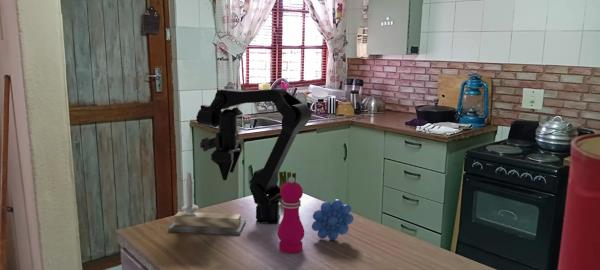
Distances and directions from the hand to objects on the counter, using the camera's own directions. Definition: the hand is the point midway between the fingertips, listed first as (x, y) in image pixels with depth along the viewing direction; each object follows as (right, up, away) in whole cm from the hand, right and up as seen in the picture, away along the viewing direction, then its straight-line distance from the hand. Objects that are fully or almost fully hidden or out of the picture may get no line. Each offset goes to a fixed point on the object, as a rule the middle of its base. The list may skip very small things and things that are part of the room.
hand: (228, 176), depth 149 cm
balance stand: (-4, -14, -11) cm, 19 cm away
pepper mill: (+21, -18, -25) cm, 37 cm away
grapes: (+32, -16, -18) cm, 40 cm away
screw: (-10, -11, -11) cm, 18 cm away
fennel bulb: (+19, -11, +10) cm, 24 cm away
